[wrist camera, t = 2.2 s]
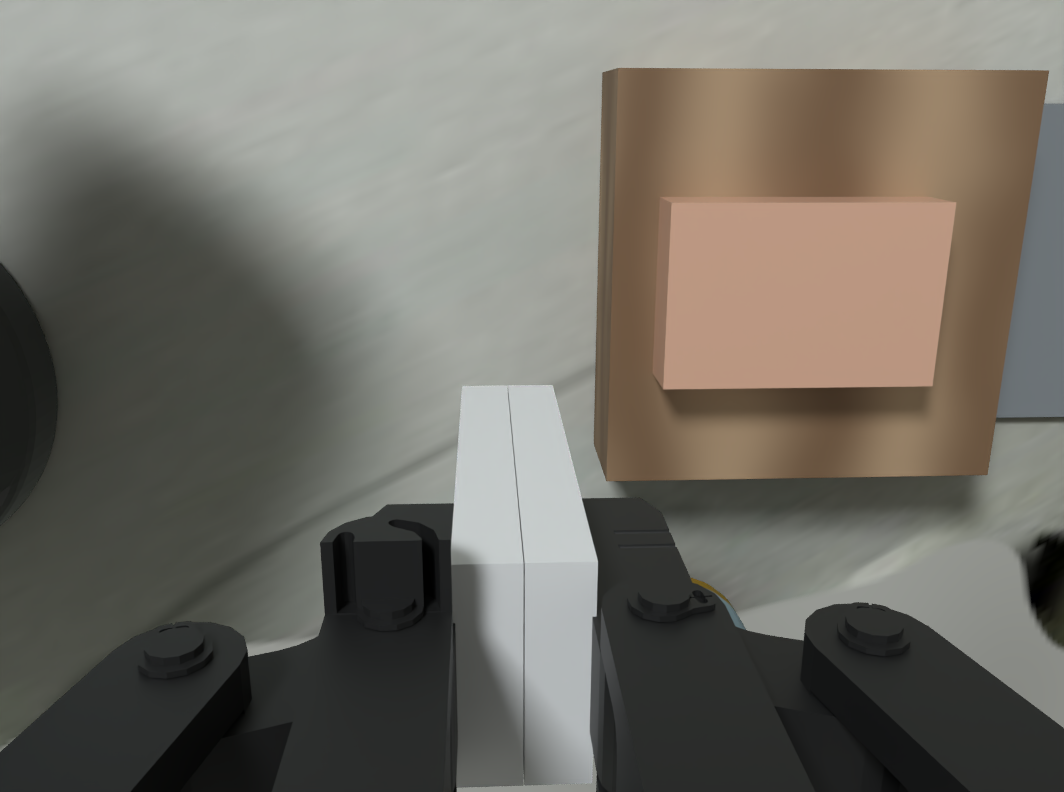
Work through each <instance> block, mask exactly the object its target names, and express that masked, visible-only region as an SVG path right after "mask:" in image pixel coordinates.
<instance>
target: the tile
mask: <svg viewBox="0 0 1064 792" xmlns="http://www.w3.org/2000/svg"><path fill="white" fill-rule="evenodd" d="M955 210H956V202H952V201H947V200H942V199H937V198H932V197H660V207H659V231H658V255H657V279H656V303H655V327H654V351H653V375H654V376H655V378H656V379H657V381H658V382H659V384H660V385H661V387H662V388H663V389H745V388H832V387H918V386H933V378H934V370H935V363H936V355H937V347H938V340H939V332H940V324H941V317H942V309H943V302H944V294H945V286H946V279H947V271H948V263H949V256H950V248H951V240H952V233H953V225H954V217H955Z"/></svg>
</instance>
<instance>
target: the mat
mask: <svg viewBox="0 0 1064 792" xmlns="http://www.w3.org/2000/svg"><path fill="white" fill-rule="evenodd" d="M1004 417H1064V104H1044V107H1043V113H1042V120H1041V126H1040V133H1039V139H1038V146H1037V153H1036V159H1035V166H1034V172H1033V179H1032V185H1031V192H1030V199H1029V205H1028V212H1027V218H1026V225H1025V231H1024V238H1023V244H1022V251H1021V258H1020V264H1019V271H1018V277H1017V284H1016V290H1015V297H1014V303H1013V310H1012V317H1011V323H1010V330H1009V336H1008V343H1007V349H1006V356H1005V363H1004V369H1003V376H1002V382H1001V389H1000V395H999V402H998V408H997V415H996V418H1004Z"/></svg>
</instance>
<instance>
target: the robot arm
mask: <svg viewBox="0 0 1064 792" xmlns="http://www.w3.org/2000/svg"><path fill="white" fill-rule="evenodd" d="M56 421H57V388H56V379H55V373H54V368H53V363H52V359H51V355H50V352H49V348H48V345H47V342H46V340H45V337H44V334H43V332H42V329H41V327H40V325H39V322H38V320H37V318H36V316H35V314H34V312H33V310H32V308H31V306H30V305H29V303H28V301H27V300H26V298H25V297H24V295H23V293H22V292H21V290H20V289H19V287H18V286H17V285H16V283H15V282H14V280H13V279H12V278H11V276H10V275H9V274H8V273H7V271H6V270H5V269H4V268H3V266H2V265H1V264H0V525H1V524H3V523H4V522H5V521H6V520H7V519H8V518H9V517H10V516H11V515H12V514H13V513H14V512H15V511H16V510H17V509H18V508H19V507H20V506H21V505H22V503H23V502H24V501H25V500H26V498H27V497H28V496H29V494H30V493H31V491H32V490H33V488H34V487H35V485H36V483H37V482H38V480H39V478H40V476H41V474H42V472H43V470H44V467H45V465H46V463H47V460H48V457H49V454H50V451H51V448H52V444H53V439H54V435H55V428H56ZM320 546H321V561H322V576H323V591H324V606H325V617H324V620H323V623H322V627H321V630H320V633H319V636H317V637H316V638H314V639H312V640H309V641H307V642H304V643H302V644H300V645H297V646H294V647H290V648H286V649H283V650H279V651H274V652H270V653H265V654H260V655H255V656H250V657H248V652H247V647H246V643H245V639H244V636H242V635H241V634H239V633H238V632H237V631H235V630H234V629H233V628H231V627H228V626H223V625H219V624H215V623H211V622H189V621H187V622H178V623H176V624H175V625H172V623H171V624H167V625H163V626H159V627H157V628H155V629H154V630H151V631H148V632H146V633H143V634H141V635H138V636H135V637H133V638H132V639H130V640H129V641H127V642H126V643H124V644H123V645H121V646H120V647H118V648H117V649H115V650H114V651H112V652H111V653H110V654H109V655H108V656H107V657H106V658H105V659H104V660H102V661H101V662H100V663H99V664H98V665H97V666H96V667H95V668H94V669H92V670H91V671H90V672H89V673H88V674H87V675H86V676H85V677H83V678H82V679H81V680H80V681H79V682H78V683H77V684H76V685H75V686H73V687H72V688H71V689H70V690H69V691H68V692H67V693H66V694H64V695H63V696H62V697H61V698H60V699H59V700H58V701H57V702H56V703H54V704H53V705H52V706H51V707H50V708H49V709H48V710H47V711H45V712H44V713H43V714H42V715H41V716H40V717H39V718H38V719H37V720H35V721H34V722H33V723H32V724H31V725H30V726H29V727H28V728H27V729H25V730H24V731H23V732H22V733H21V734H20V735H19V736H18V737H16V738H15V739H14V740H13V741H12V742H11V743H10V744H9V745H8V746H6V747H5V748H4V749H3V750H2V751H1V752H0V792H457V789H456V788H457V787H489V786H521V785H523V770H524V785H552V784H583V783H592V775H593V774H592V773H593V772H592V771H593V754H594V759H595V765H596V771H597V785H596V786H597V788H596V792H1064V728H1063V727H1061V726H1060V725H1059V724H1057V723H1056V722H1055V721H1053V720H1052V719H1051V718H1050V717H1048V716H1047V715H1046V714H1044V713H1043V712H1041V711H1040V710H1039V709H1037V708H1036V707H1035V706H1034V705H1032V704H1031V703H1030V702H1028V701H1027V700H1026V699H1024V698H1023V697H1022V696H1020V695H1019V694H1018V693H1016V692H1015V691H1014V690H1012V689H1011V688H1010V687H1008V686H1007V685H1006V684H1004V683H1003V682H1001V681H1000V680H999V679H998V678H996V677H995V676H994V675H992V674H991V673H990V672H988V671H987V670H986V669H984V668H983V667H982V666H980V665H979V664H978V663H976V662H975V661H974V660H972V659H971V658H970V657H968V656H967V655H966V654H964V653H963V652H962V651H961V650H959V649H958V648H956V647H955V646H954V645H952V644H951V643H950V642H948V641H947V640H946V639H945V638H943V637H942V636H940V635H939V634H938V633H937V632H935V631H934V630H933V629H931V628H930V627H929V626H927V625H925V624H923V623H922V622H920V621H918V620H916V619H914V618H913V617H911V616H909V615H907V614H903V613H900V612H897V611H894V610H891V609H889V608H888V607H886V606H882V605H877V604H872V605H869V604H868V603H859V602H858V603H852V604H834V605H831V606H828V607H825V608H822V609H818V610H816V611H815V612H814V613H813V614H812V615H810V616H809V617H808V618H807V619H806V623H805V633H804V641H802V640H795V639H789V638H783V637H775V636H770V635H765V634H760V633H755V632H750V631H747V630H744V629H742V628H739V627H736V626H735V624H734V622H733V620H732V618H731V616H730V614H729V612H728V610H727V608H726V606H725V604H724V603H723V602H722V601H721V600H720V598H719V597H718V596H717V595H716V594H715V593H713V592H712V591H710V590H708V589H706V588H704V587H702V586H700V585H698V584H695V583H692V580H691V578H690V576H689V574H688V571H687V569H686V567H685V565H684V562H683V560H682V558H681V556H680V553H679V551H678V549H677V547H675V542H674V540H673V538H672V535H671V533H669V529H668V526H667V524H666V522H665V520H664V517H663V515H662V513H661V512H660V511H659V510H657V509H656V508H654V507H653V506H651V505H650V504H648V503H647V502H646V501H644V500H643V499H641V498H588V499H582V498H581V494H580V490H579V486H578V482H577V478H576V474H575V470H574V466H573V462H572V459H571V455H570V451H569V447H568V443H567V439H566V435H565V431H564V427H563V424H562V420H561V416H560V412H559V408H558V404H557V400H556V396H555V392H554V389H553V385H513V386H508V389H507V386H462V396H461V411H460V425H459V439H458V453H457V468H456V482H455V496H454V504H395V505H386V506H385V507H383V508H382V509H381V510H380V511H378V512H377V513H376V514H375V515H374V516H372V517H365V518H362V519H358V520H354V521H351V522H347V523H344V524H343V525H341V526H339V527H337V528H335V529H333V530H331V531H329V532H328V534H327V535H326V536H325V537H324V538H323V540H322V541H321V542H320Z"/></svg>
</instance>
